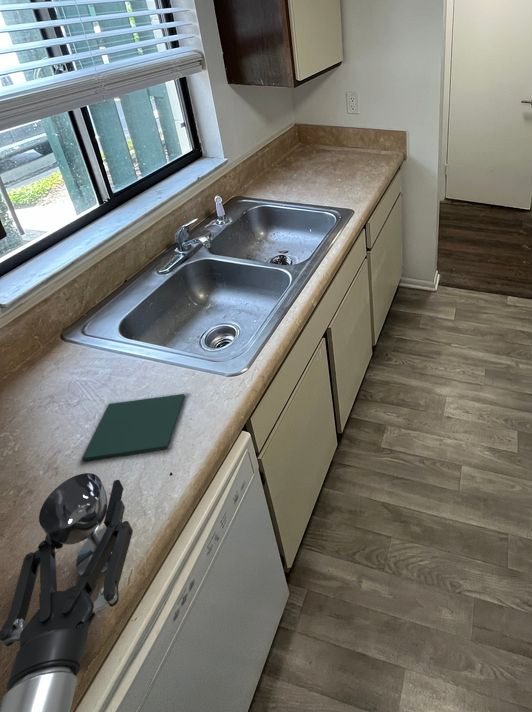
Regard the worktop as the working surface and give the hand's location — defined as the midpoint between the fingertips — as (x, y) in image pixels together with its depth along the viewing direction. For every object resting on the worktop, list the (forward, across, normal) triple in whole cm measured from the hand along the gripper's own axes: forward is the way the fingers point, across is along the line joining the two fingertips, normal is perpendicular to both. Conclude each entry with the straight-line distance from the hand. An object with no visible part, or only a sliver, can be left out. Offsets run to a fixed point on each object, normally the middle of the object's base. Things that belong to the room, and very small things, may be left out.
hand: (94, 492), depth 74 cm
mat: (+18, +1, -9) cm, 20 cm away
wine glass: (-5, 0, -8) cm, 10 cm away
